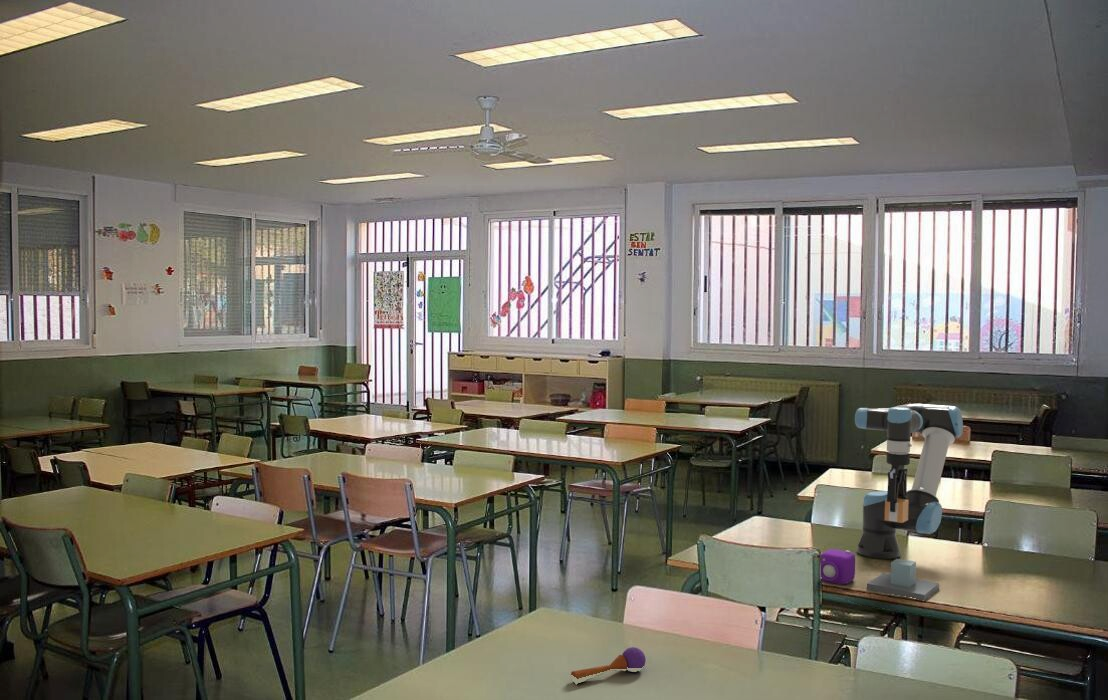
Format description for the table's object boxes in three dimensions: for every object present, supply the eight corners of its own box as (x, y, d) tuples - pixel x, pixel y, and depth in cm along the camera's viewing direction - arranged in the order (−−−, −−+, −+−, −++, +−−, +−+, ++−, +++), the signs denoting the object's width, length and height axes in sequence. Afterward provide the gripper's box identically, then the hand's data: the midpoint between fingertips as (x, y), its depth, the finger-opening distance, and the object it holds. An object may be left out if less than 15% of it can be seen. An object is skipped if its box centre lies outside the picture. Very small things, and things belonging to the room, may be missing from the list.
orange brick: (884, 520, 308) (885, 500, 307) (890, 517, 312) (890, 497, 312) (902, 522, 304) (903, 502, 304) (907, 519, 309) (908, 499, 308)
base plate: (866, 589, 290) (866, 583, 290) (883, 578, 303) (883, 572, 303) (924, 601, 279) (924, 594, 279) (938, 589, 292) (939, 583, 291)
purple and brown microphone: (566, 663, 216) (634, 643, 225) (570, 688, 215) (638, 667, 225) (578, 667, 210) (648, 646, 220) (582, 693, 210) (651, 671, 220)
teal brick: (890, 583, 290) (891, 562, 290) (896, 579, 295) (897, 558, 295) (909, 587, 287) (910, 565, 286) (915, 582, 291) (915, 561, 291)
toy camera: (815, 584, 295) (815, 554, 295) (823, 574, 307) (824, 545, 307) (848, 589, 290) (849, 559, 290) (856, 578, 302) (856, 549, 302)
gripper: (900, 457, 298) (898, 525, 298) (918, 450, 312) (915, 516, 313) (877, 454, 302) (875, 522, 303) (896, 448, 317) (894, 513, 318)
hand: (896, 519), depth 308 cm, fingers closed on orange brick, 6 cm apart
